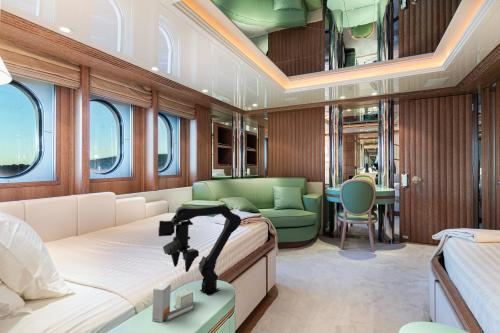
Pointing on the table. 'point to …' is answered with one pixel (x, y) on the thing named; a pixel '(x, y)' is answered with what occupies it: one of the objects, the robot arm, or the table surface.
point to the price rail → (179, 312)
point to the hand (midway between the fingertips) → (181, 269)
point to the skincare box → (161, 301)
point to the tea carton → (183, 298)
